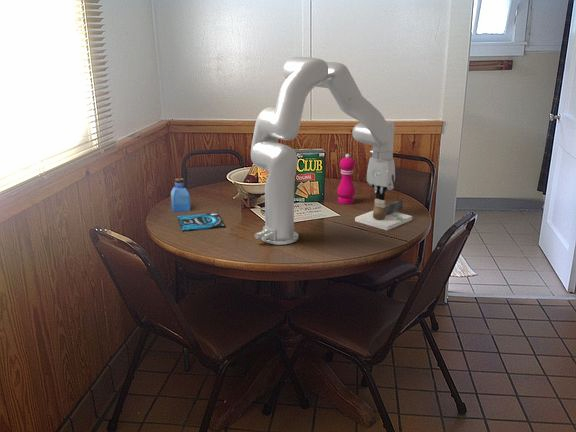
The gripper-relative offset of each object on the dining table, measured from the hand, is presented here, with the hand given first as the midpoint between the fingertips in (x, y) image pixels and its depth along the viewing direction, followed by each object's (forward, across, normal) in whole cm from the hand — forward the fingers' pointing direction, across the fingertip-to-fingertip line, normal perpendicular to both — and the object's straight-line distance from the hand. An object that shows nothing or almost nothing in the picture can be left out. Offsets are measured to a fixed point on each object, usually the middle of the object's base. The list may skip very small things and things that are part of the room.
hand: (379, 202), depth 204 cm
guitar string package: (+4, -39, -56) cm, 68 cm away
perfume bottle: (+4, -57, -51) cm, 77 cm away
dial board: (+4, +6, -6) cm, 10 cm away
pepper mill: (+4, -18, +2) cm, 18 cm away
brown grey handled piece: (+2, +6, -3) cm, 8 cm away
